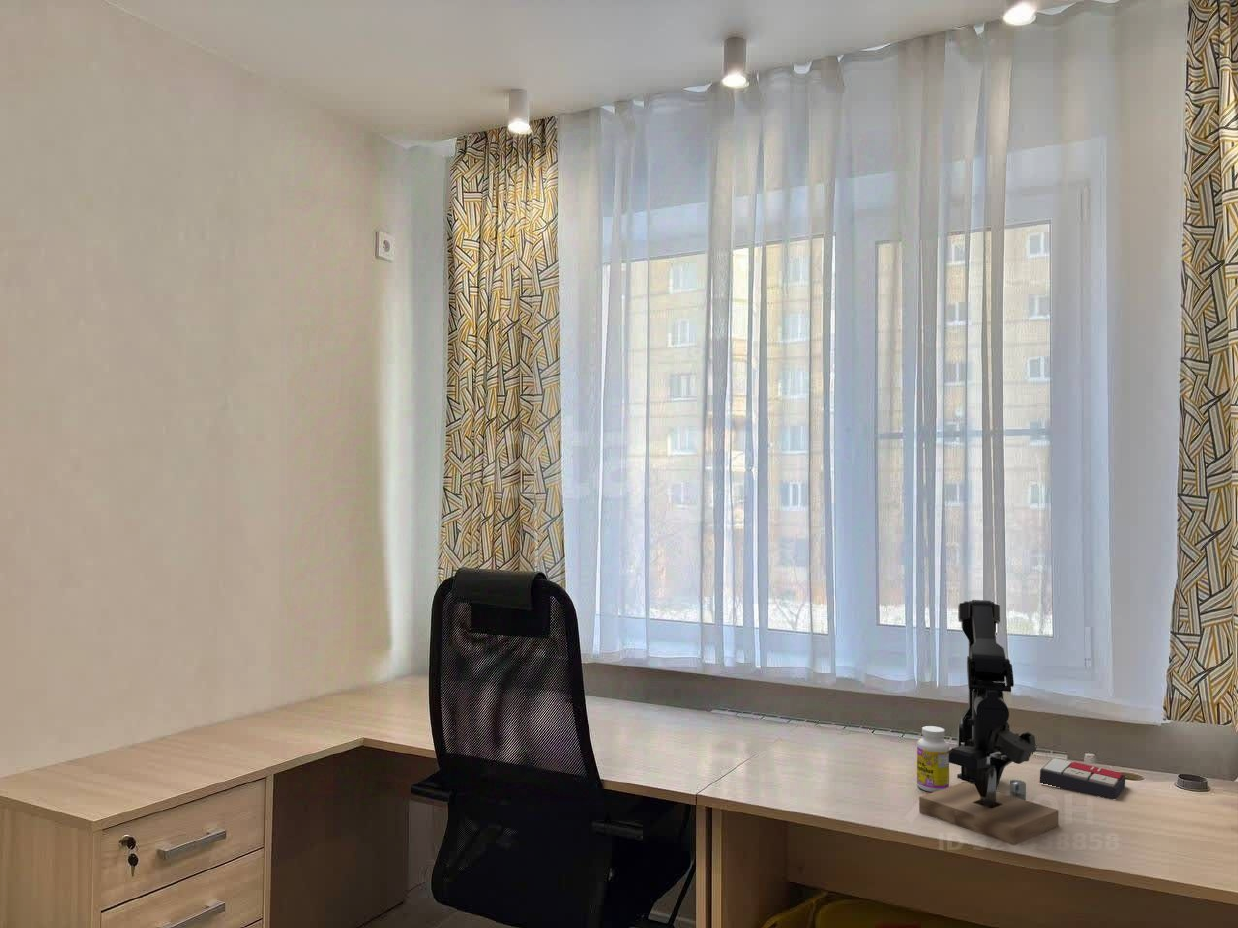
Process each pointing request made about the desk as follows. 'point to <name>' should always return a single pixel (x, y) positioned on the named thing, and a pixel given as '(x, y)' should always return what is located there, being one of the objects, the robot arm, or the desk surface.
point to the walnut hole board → (989, 813)
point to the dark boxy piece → (1083, 778)
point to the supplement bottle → (932, 760)
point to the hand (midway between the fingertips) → (987, 795)
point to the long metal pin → (990, 791)
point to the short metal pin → (1018, 789)
